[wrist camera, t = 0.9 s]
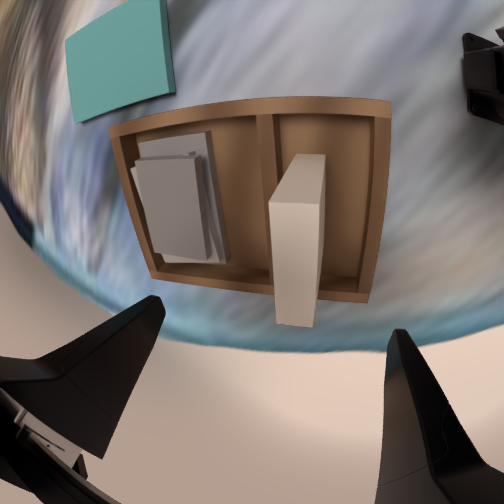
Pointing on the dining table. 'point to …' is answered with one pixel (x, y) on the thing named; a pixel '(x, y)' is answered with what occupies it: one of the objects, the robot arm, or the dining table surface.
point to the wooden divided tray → (268, 178)
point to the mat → (120, 59)
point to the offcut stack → (182, 198)
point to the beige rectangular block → (298, 238)
